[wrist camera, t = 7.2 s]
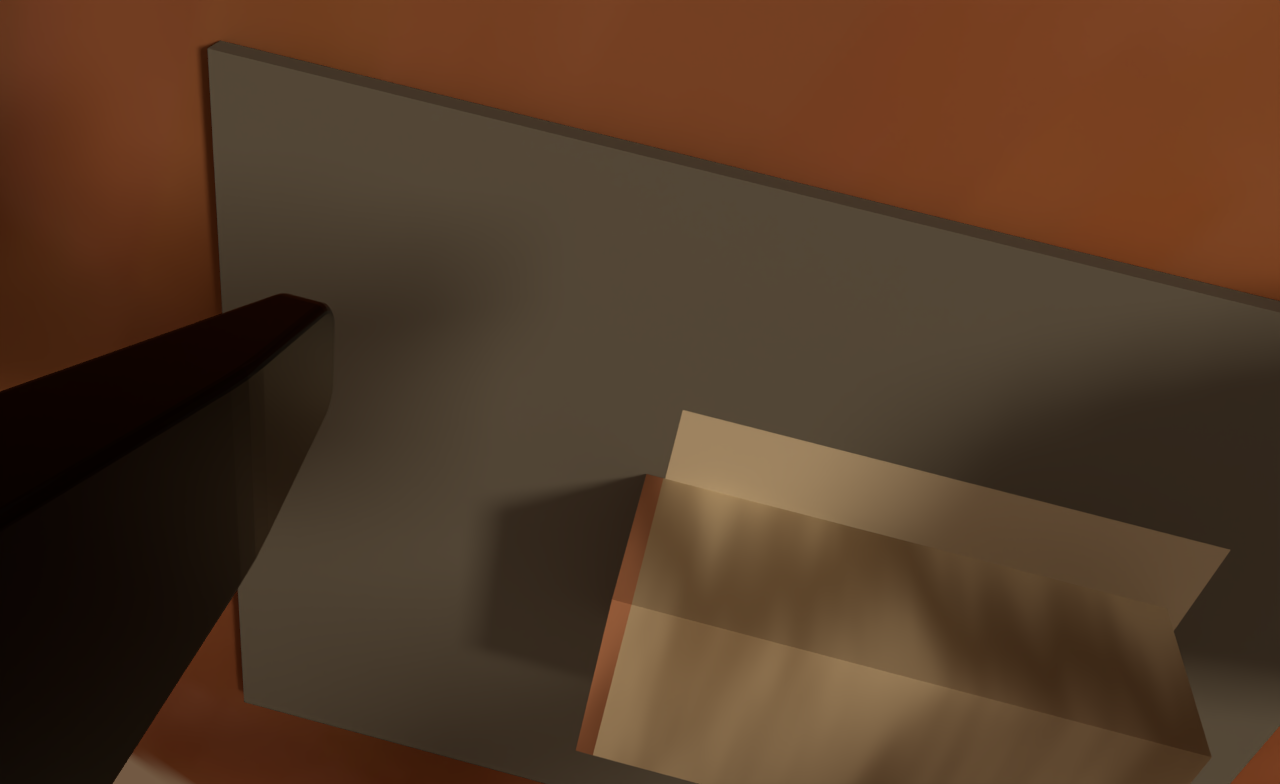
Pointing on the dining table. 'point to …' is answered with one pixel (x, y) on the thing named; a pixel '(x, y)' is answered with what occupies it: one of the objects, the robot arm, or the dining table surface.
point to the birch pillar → (872, 661)
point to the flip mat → (697, 407)
